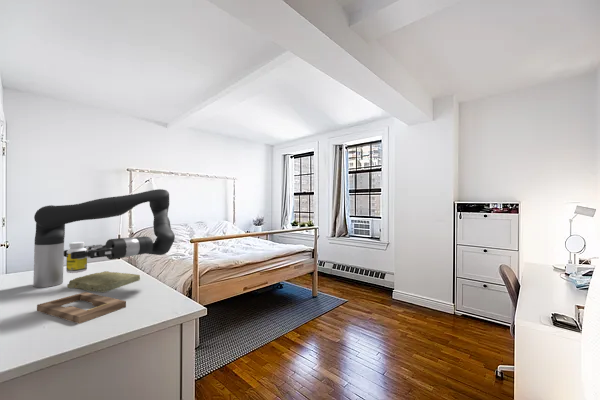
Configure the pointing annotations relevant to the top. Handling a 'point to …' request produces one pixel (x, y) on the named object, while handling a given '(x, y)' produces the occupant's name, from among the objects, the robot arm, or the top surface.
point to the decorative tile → (103, 281)
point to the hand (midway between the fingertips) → (67, 254)
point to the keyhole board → (81, 315)
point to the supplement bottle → (79, 263)
